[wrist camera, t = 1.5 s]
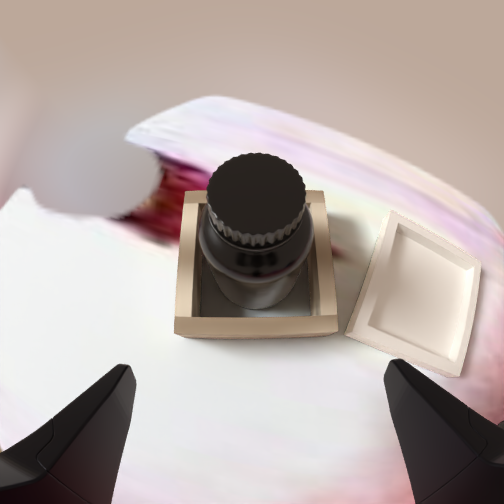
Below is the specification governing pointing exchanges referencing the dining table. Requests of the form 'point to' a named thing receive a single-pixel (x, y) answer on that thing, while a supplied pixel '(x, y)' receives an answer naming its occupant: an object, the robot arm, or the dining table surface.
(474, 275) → the dock
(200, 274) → the frame
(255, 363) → the dining table surface
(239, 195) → the supplement bottle
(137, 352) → the dining table surface
